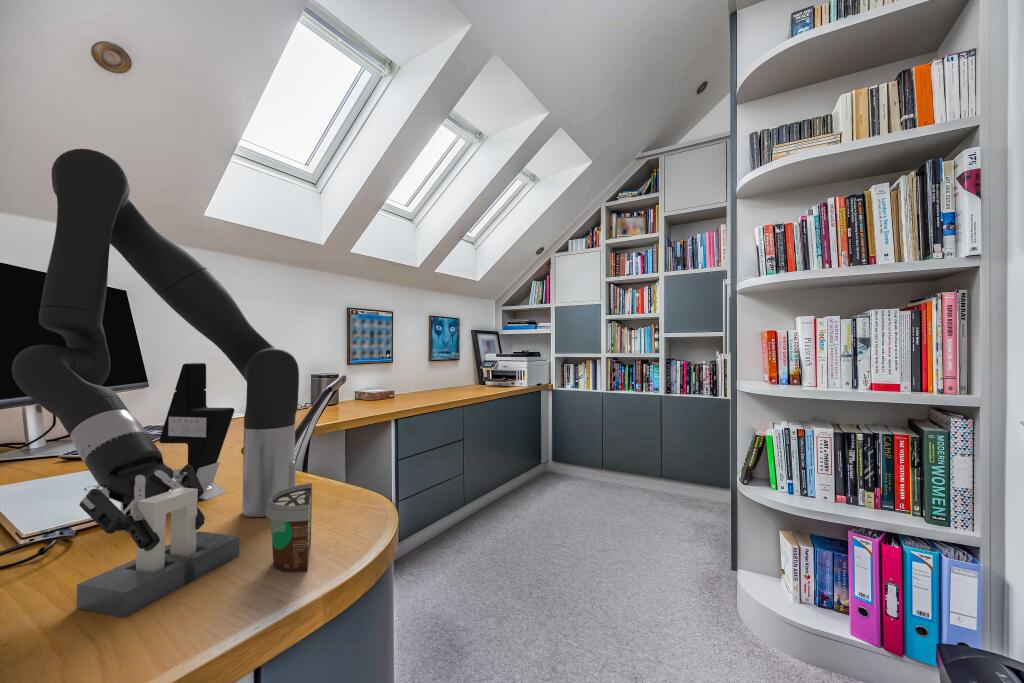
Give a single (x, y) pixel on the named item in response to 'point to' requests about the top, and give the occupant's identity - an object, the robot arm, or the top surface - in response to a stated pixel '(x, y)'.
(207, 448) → the award
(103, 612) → the grey slotted base block
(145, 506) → the grey arch-shaped block
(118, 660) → the top surface
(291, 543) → the food container
